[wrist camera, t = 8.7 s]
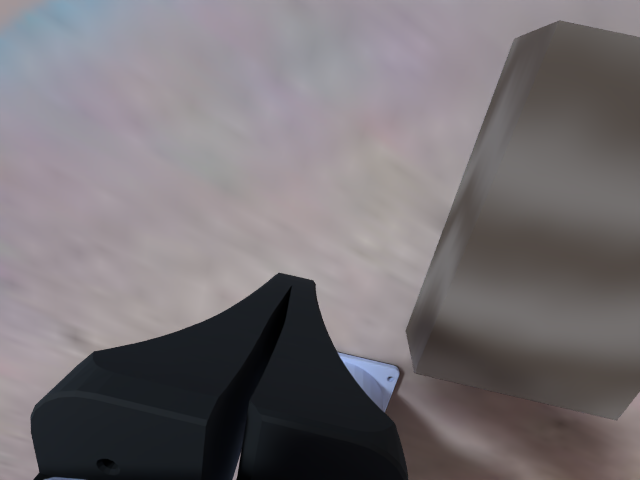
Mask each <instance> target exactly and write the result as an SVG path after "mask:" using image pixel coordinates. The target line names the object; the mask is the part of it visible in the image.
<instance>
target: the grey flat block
mask: <svg viewBox="0 0 640 480" xmlns="http://www.w3.org/2000/svg"><path fill="white" fill-rule="evenodd" d="M406 334H407V339H408V344H409V349H410V354H411V359H412V363H413V368H414V373H416V374H420V375H424V376H429V377H433V378H437V379H442V380H446V381H450V382H454V383H459V384H463V385H467V386H471V387H476V388H480V389H484V390H489V391H493V392H497V393H501V394H506V395H510V396H514V397H518V398H523V399H527V400H531V401H536V402H540V403H544V404H548V405H553V406H557V407H561V408H565V409H570V410H574V411H578V412H583V413H587V414H591V415H595V416H600V417H604V418H608V419H612V420H618V418H619V417H620V416H621V415H622V413H623V412H624V411H625V410H626V408H627V407H628V406H629V404H630V403H631V402H632V401H633V399H634V398H635V397H636V396H637V394H638V393H639V392H640V37H636V36H631V35H627V34H622V33H617V32H612V31H607V30H603V29H598V28H593V27H588V26H583V25H578V24H574V23H569V22H564V21H557V22H554V23H552V24H549V25H547V26H545V27H542V28H540V29H537V30H535V31H532V32H530V33H527V34H525V35H523V36H520V37H518V38H515V39H514V41H513V44H512V46H511V49H510V52H509V54H508V57H507V60H506V62H505V65H504V68H503V71H502V73H501V76H500V79H499V81H498V84H497V87H496V89H495V92H494V95H493V97H492V100H491V103H490V106H489V108H488V111H487V114H486V116H485V119H484V122H483V124H482V127H481V130H480V132H479V135H478V138H477V140H476V143H475V146H474V149H473V151H472V154H471V157H470V159H469V162H468V165H467V167H466V170H465V173H464V175H463V178H462V181H461V183H460V186H459V189H458V192H457V194H456V197H455V200H454V202H453V205H452V208H451V210H450V213H449V216H448V218H447V221H446V224H445V227H444V229H443V232H442V235H441V237H440V240H439V243H438V245H437V248H436V251H435V253H434V256H433V259H432V261H431V264H430V267H429V270H428V272H427V275H426V278H425V280H424V283H423V286H422V288H421V291H420V294H419V296H418V299H417V302H416V304H415V307H414V310H413V313H412V315H411V318H410V321H409V323H408V326H407V329H406Z"/></svg>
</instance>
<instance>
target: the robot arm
mask: <svg viewBox="0 0 640 480" xmlns="http://www.w3.org/2000/svg"><path fill="white" fill-rule="evenodd" d="M388 377H392V378H388ZM398 377H399V369H398V367H396V366H394V365H390V364H385V363H381V362H377V361H373V360H368V359H364V358H360V357H355V356H351V355H347V354H343V353H338V352H337V351H336V349H335V347H334V345H333V343H332V341H331V339H330V337H329V334H328V332H327V329H326V327H325V324H324V322H323V319H322V316H321V312H320V309H319V305H318V301H317V296H316V284H315V282H314V281H313V280H309V279H304V278H300V277H296V276H291V275H287V274H283V273H278V274H276V275H275V276H274V277H273V278H271V279H270V280H269V281H268V282H267V283H265V284H264V285H263V286H262V287H260V288H259V289H258V290H256V291H255V292H253V293H252V294H251V295H249V296H248V297H246V298H245V299H243V300H242V301H240V302H239V303H237V304H235V305H234V306H232V307H231V308H229V309H227V310H225V311H224V312H222V313H220V314H218V315H216V316H214V317H212V318H210V319H208V320H205V321H203V322H201V323H198V324H195V325H193V326H190V327H188V328H185V329H182V330H180V331H177V332H174V333H171V334H168V335H164V336H161V337H158V338H154V339H150V340H147V341H143V342H139V343H135V344H130V345H125V346H120V347H115V348H110V349H105V350H100V351H94V352H93V353H92V354H91V355H89V356H88V357H87V358H86V359H84V360H83V361H82V362H81V363H80V364H78V365H77V366H76V367H75V368H74V369H73V370H72V371H71V372H70V373H69V374H68V375H67V376H66V377H65V378H64V379H63V380H61V381H60V382H59V383H58V384H57V385H56V386H55V387H54V388H53V389H52V390H51V391H50V392H49V393H48V394H47V395H46V396H45V397H43V398H42V399H41V400H40V401H39V402H38V403H37V404H36V405H35V407H34V409H33V412H32V414H31V434H32V439H33V444H34V449H35V453H36V458H37V463H38V467H39V472H40V473H39V474H38V475H37V476H36V477H35V478H34V480H232V479H233V476H234V472H235V469H236V466H237V463H238V460H239V456H240V453H241V457H240V463H239V469H238V476H237V480H408V473H407V467H406V462H405V457H404V453H403V449H402V446H401V442H400V439H399V435H398V432H397V429H396V425H395V423H394V422H393V421H392V420H391V419H390V418H389V417H388V416H387V415H386V414H385V411H386V408H387V406H388V403H389V400H390V398H391V395H392V393H393V390H394V388H395V385H396V382H397V380H398Z"/></svg>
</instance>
